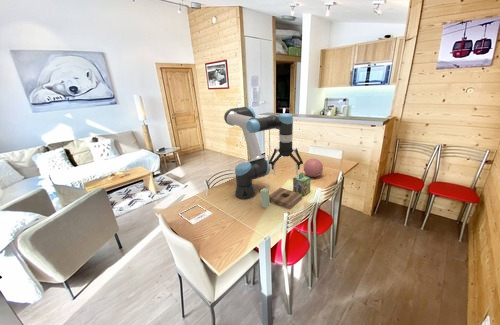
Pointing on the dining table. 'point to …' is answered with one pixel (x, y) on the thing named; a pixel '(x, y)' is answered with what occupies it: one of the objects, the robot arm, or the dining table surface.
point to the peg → (264, 198)
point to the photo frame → (198, 218)
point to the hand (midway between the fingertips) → (285, 174)
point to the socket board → (289, 199)
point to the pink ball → (313, 167)
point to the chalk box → (301, 184)
